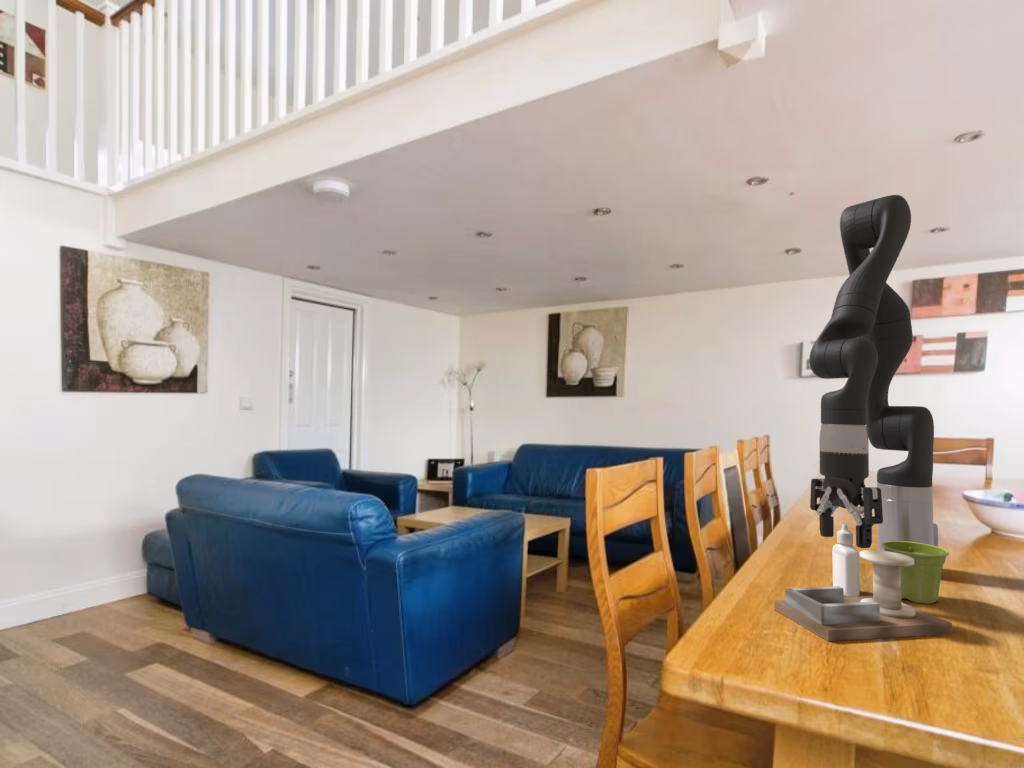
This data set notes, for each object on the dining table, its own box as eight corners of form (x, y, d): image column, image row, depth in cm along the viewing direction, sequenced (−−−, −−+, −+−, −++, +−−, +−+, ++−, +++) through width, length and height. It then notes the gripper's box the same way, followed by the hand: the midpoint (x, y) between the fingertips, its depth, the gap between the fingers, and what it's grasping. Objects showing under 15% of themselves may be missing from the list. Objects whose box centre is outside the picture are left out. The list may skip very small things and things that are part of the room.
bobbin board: (884, 604, 91) (882, 545, 91) (952, 633, 79) (950, 565, 80) (774, 609, 88) (773, 548, 88) (828, 641, 76) (827, 570, 76)
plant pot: (963, 610, 89) (961, 556, 89) (898, 605, 90) (897, 552, 91) (931, 591, 98) (929, 542, 98) (872, 587, 100) (871, 539, 100)
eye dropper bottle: (829, 594, 96) (828, 525, 96) (833, 586, 100) (832, 520, 101) (859, 599, 93) (857, 528, 94) (862, 591, 97) (860, 523, 98)
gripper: (895, 453, 91) (897, 551, 90) (833, 447, 105) (833, 533, 104) (855, 452, 90) (856, 552, 89) (797, 447, 104) (798, 533, 103)
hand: (844, 541), depth 97 cm, fingers open, 8 cm apart
